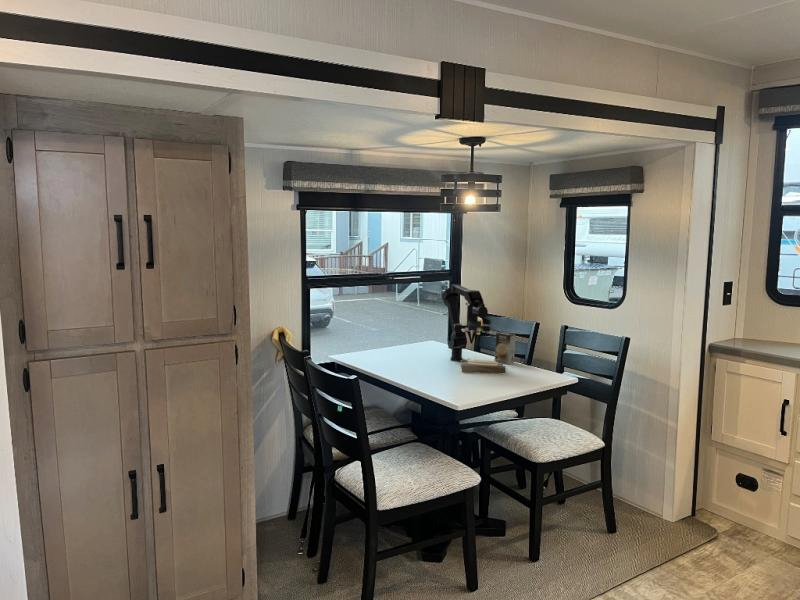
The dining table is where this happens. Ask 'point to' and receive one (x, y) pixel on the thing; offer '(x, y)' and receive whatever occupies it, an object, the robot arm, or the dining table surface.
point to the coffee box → (505, 347)
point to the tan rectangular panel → (482, 362)
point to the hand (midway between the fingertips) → (471, 343)
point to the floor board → (482, 368)
